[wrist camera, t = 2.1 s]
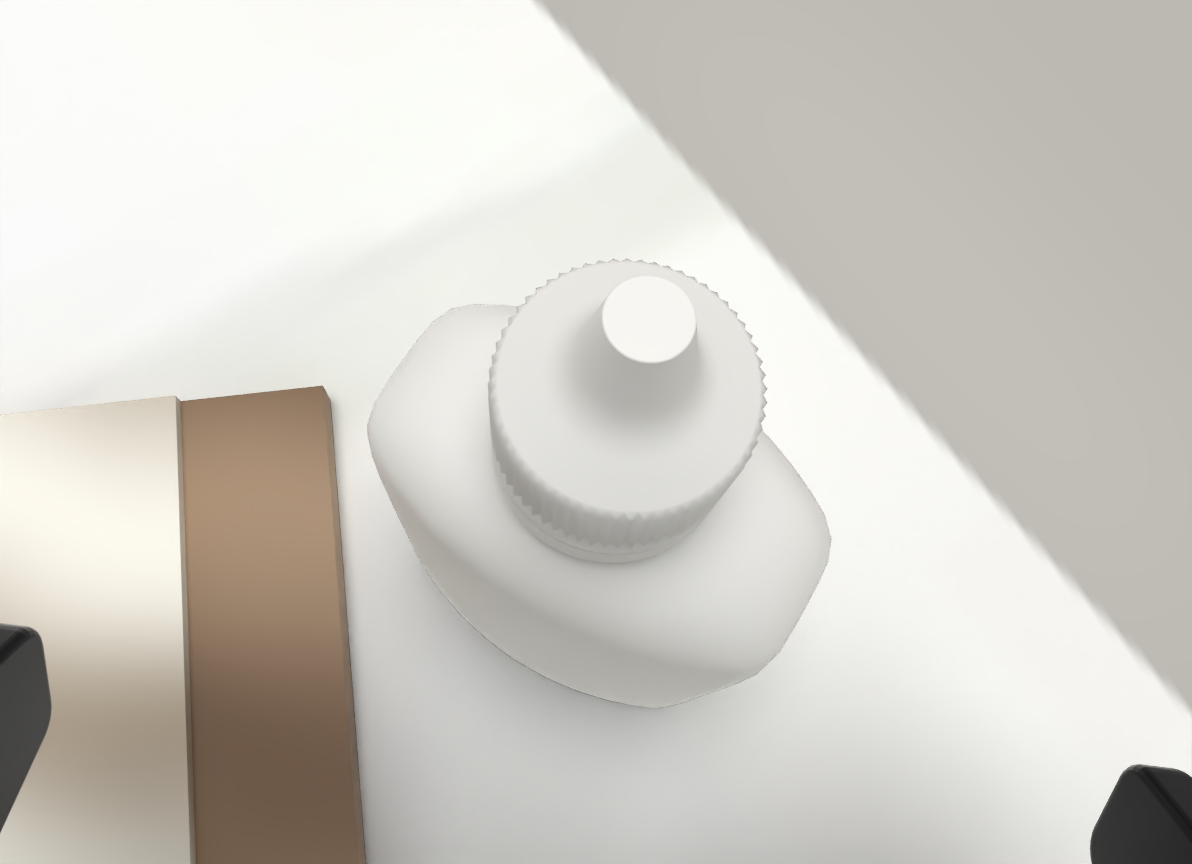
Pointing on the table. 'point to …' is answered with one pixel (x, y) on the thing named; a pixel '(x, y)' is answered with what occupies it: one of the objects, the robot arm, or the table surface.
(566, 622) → the eye dropper bottle
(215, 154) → the table surface
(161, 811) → the board
